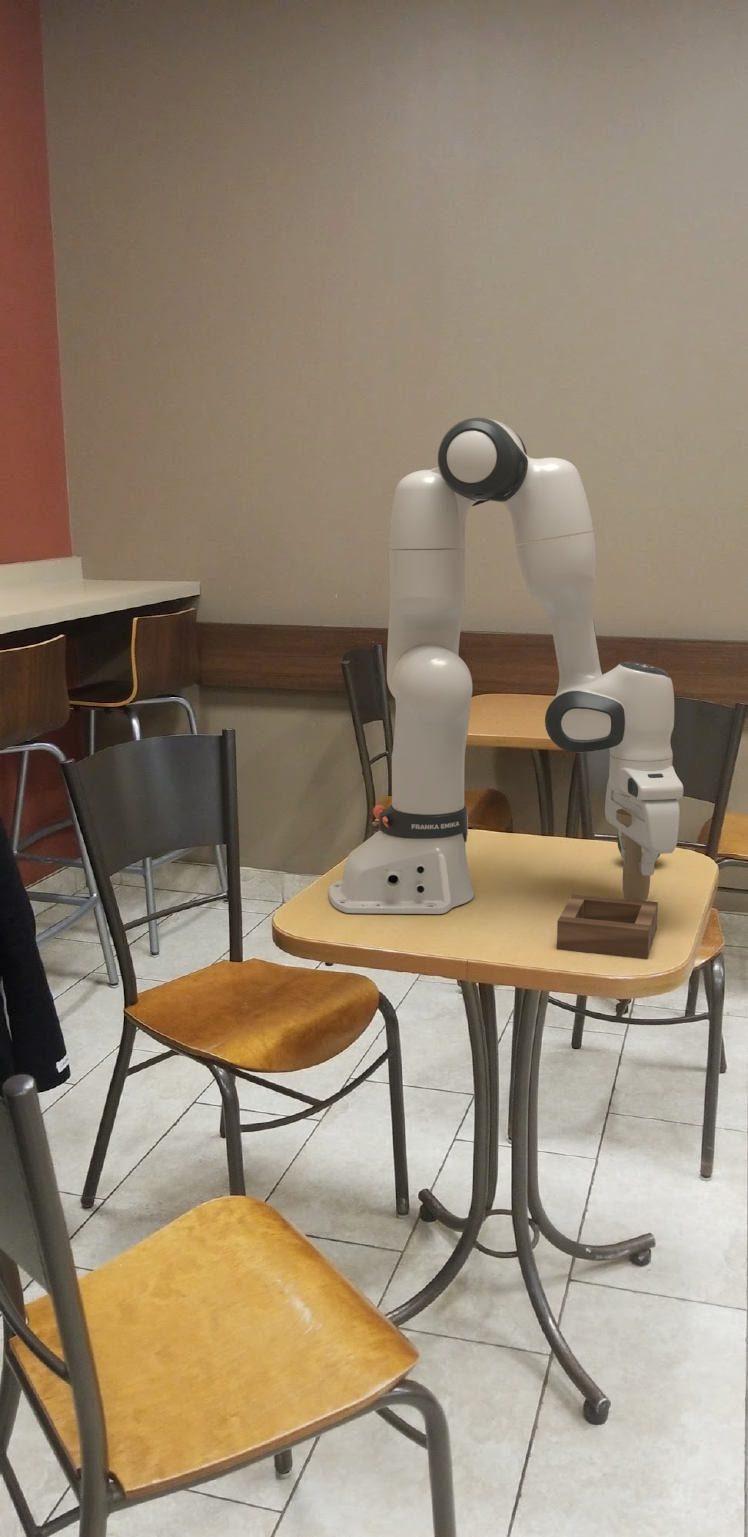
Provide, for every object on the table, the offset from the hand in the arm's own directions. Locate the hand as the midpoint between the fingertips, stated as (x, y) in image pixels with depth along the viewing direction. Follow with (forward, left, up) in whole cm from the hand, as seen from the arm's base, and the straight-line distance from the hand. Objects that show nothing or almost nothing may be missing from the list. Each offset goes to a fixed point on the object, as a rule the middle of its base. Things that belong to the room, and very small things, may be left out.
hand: (636, 866), depth 170 cm
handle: (0, 0, -7) cm, 7 cm away
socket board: (-8, -11, -7) cm, 15 cm away
